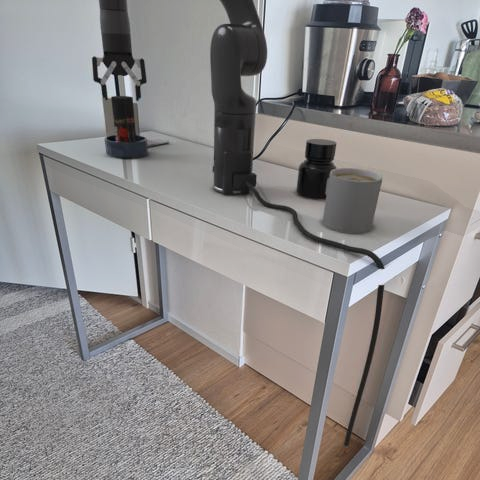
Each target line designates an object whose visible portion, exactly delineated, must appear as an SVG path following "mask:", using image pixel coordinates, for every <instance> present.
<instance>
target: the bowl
mask: <svg viewBox="0 0 480 480" xmlns="http://www.w3.org/2000/svg"><path fill="white" fill-rule="evenodd" d="M104 146H105V147H104V148H105V153H106V155H107V156H110V157H112V158H117V159H137V158H142V157H144V156H146V155H148V154H149V149H148V148H149V147H148V146H147V138H146V137H144V136H140V135H136V142H116V138H115V135H111V136H107V135H106V136H105V137H104Z"/></svg>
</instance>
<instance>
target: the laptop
mask: <svg viewBox="0 0 480 480" xmlns="http://www.w3.org/2000/svg"><path fill="white" fill-rule="evenodd" d="M101 100H102V101H101V102H102V108H103V109H102V110H103V117H104V127H105V135H106V137H107V136H111V135H115V128H114V119H113V110H112V101H111V97H108V100H105V98H103V96H101ZM133 107H134V119H135V131H136V135H140V136H144V137H146V138H147V146H148V148H149V147H154V146H159V145H160V146H161V145H164V144H169V143H170V140H166V139H162V138H157V137H153V136H150V135H146V134H142V133H141V132H140V117H139V107H138V103H137V102H133Z"/></svg>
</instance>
